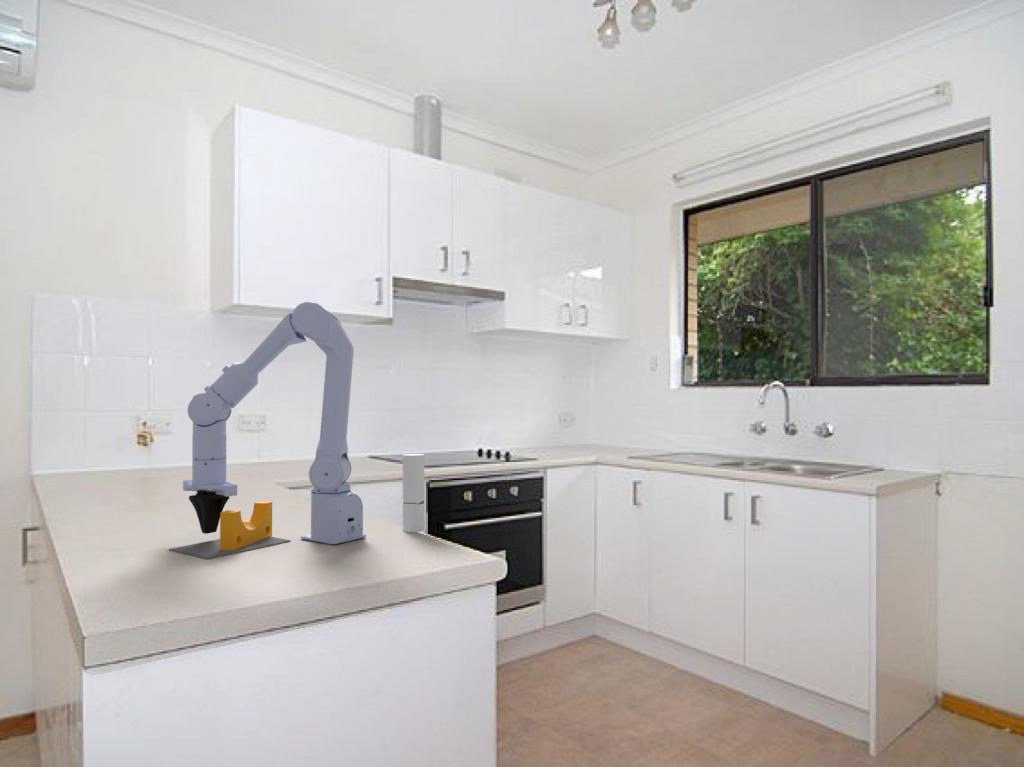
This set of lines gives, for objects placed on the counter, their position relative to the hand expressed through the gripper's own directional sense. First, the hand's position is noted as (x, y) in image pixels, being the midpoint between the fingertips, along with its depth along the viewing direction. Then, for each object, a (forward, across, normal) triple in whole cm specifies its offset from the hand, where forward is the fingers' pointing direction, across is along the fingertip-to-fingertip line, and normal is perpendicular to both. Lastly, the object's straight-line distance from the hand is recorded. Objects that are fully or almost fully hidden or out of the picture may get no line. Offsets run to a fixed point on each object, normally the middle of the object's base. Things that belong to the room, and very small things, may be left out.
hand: (209, 532), depth 119 cm
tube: (+2, +25, +28) cm, 38 cm away
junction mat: (+2, +7, 0) cm, 7 cm away
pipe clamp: (+2, +7, +2) cm, 8 cm away
